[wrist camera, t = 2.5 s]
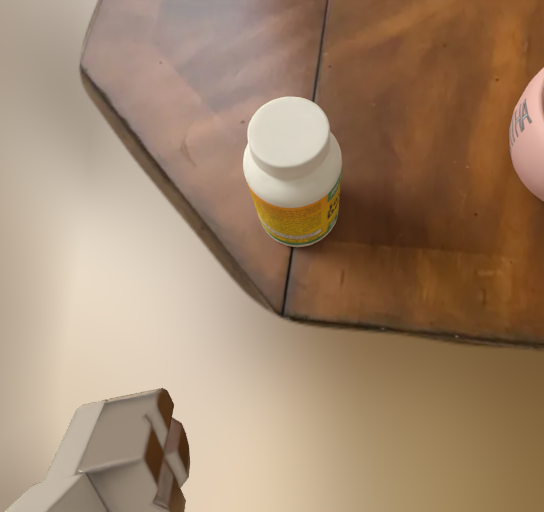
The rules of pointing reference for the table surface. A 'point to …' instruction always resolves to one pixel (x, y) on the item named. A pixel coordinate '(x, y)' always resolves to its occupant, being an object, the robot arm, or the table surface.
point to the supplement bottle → (293, 170)
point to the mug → (529, 136)
